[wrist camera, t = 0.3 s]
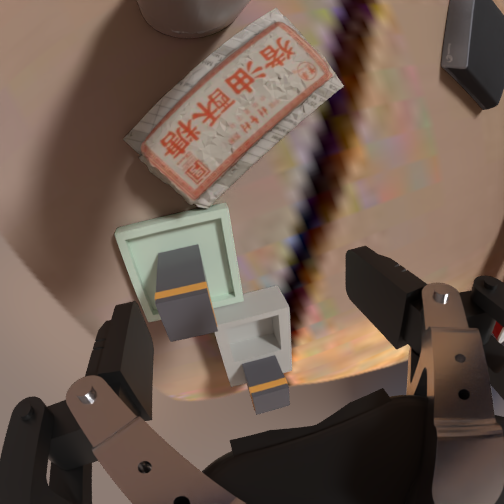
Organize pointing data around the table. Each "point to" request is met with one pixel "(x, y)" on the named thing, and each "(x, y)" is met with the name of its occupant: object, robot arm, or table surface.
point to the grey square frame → (257, 346)
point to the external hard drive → (475, 49)
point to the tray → (178, 236)
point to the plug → (184, 294)
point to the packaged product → (233, 109)
